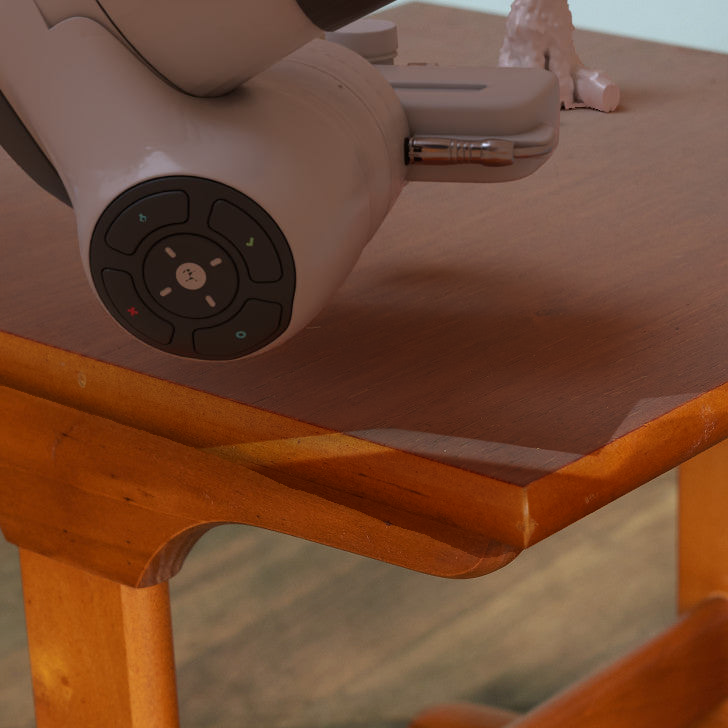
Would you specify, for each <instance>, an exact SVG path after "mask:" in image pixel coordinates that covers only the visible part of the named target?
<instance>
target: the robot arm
mask: <svg viewBox="0 0 728 728" xmlns="http://www.w3.org/2000/svg"><path fill="white" fill-rule="evenodd" d="M396 1H397V0H0V146H1V148H2V149H3V150H4V151H5V153H7V155H8V156H9V157H10V158H11V159H12V160H13V162H14V163H16V165H17V166H18V167H19V168H20V169H21V170H22V171H23V172H24V173H25V174H26V175H27V176H29V178H30V179H31V180H32V181H33V182H35V183H36V184H37V185H38V186H39V187H40V188H42V189H43V190H44V191H45V192H47V193H48V194H49V195H51V196H53V198H56V199H57V200H58V201H60V202H61V203H63V204H64V205H65V206H68V207H69V208H70V209H72V210H73V212H74V216H75V219H76V220H75V223H76V228H77V239H78V247H79V248H78V249H79V254H80V259H81V264H82V268H83V271H84V274H85V277H86V279H87V282H88V284H89V287H90V288H91V291H92V292H93V294H94V296H95V297H96V300H98V302H99V303H100V305H101V306H102V308H103V310H105V311H106V313H107V314H108V316H109V317H110V318H111V319H112V321H113V322H115V324H116V325H117V326H118V327H119V328H120V329H121V330H123V332H125V333H126V334H127V335H129V336H130V337H131V338H133V339H134V340H136V341H138V342H139V343H141V344H142V345H145V346H146V347H148V348H150V349H153V350H155V351H157V352H159V353H161V354H165V355H168V356H170V357H174V358H178V359H183V360H189V361H195V362H204V363H205V362H206V363H226V362H228V363H229V362H235V361H240V360H244V359H247V358H252V357H256V356H259V355H261V354H262V355H263V354H264V353H267V352H269V351H271V350H273V349H275V348H277V347H279V346H281V345H283V344H285V343H286V342H287V341H289V340H290V339H291V338H293V337H295V336H296V335H297V334H298V333H300V332H301V331H302V330H303V329H304V328H305V327H306V326H308V325H309V324H310V323H311V321H312V320H314V319H315V318H316V316H317V315H319V314H320V313H321V312H322V310H323V309H324V308H325V307H326V306H327V304H328V303H330V301H331V300H332V299H333V298H334V296H335V295H336V294H337V292H338V291H339V290H340V288H342V286H343V285H344V283H345V282H346V280H347V279H348V278H349V276H350V275H351V273H352V272H353V270H354V268H355V266H356V265H357V263H358V261H359V259H360V257H361V255H362V253H363V250H364V249H365V248H366V247H367V245H368V244H369V243H370V242H371V241H372V240H373V238H374V237H375V235H376V234H377V232H378V231H379V230H380V227H381V226H382V224H383V223H384V221H385V219H386V218H387V217H388V215H389V213H390V212H391V210H392V209H393V207H394V206H395V204H396V202H397V201H398V199H399V197H400V195H401V194H402V191H403V190H404V188H405V187H404V185H405V182H406V181H410V182H421V183H453V184H454V183H456V184H457V183H460V184H461V183H462V184H499V183H501V184H502V183H509V182H515V181H520V180H522V179H525V178H527V177H529V176H531V175H533V174H534V173H535V172H537V171H538V170H539V169H541V167H543V165H545V164H546V162H547V161H548V160H549V159H550V158H551V157H552V155H553V154H554V152H555V151H556V149H557V148H558V146H559V141H560V130H561V129H560V125H561V109H560V85H559V78H558V76H557V75H556V74H555V73H552V72H550V71H548V70H545V69H541V68H532V67H496V66H470V65H469V66H466V65H465V66H463V65H462V66H461V65H439V63H438V62H408V63H407V64H405V65H404V64H394V65H372V64H371V63H369V62H368V61H367V60H366V59H364V58H363V57H362V56H360V55H359V54H357V53H355V52H354V51H352V50H350V49H348V48H346V47H344V46H341V45H339V44H337V43H334V42H330V41H327V40H323V39H318V38H317V37H318V36H320V35H322V34H323V33H325V32H334V31H336V30H338V29H340V28H342V27H344V26H346V25H348V24H350V23H352V22H354V21H356V20H358V19H363V18H364V17H366V16H368V15H371V14H372V13H374V12H376V11H378V10H380V9H382V8H384V7H387V6H388V5H391V4H392V3H394V2H396Z"/></svg>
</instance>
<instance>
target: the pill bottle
mask: <svg viewBox="0 0 728 728" xmlns="http://www.w3.org/2000/svg"><path fill="white" fill-rule="evenodd" d="M397 26H398V25H397V24H396V23H395V22H394V21H391V20H386V19H380V18H379V19H378V18H360V19H358V20H356V21H354V22H352V23H350V24H348V25H346V26H344V27H342V28H340V29H338V30H336V31H334V32H325V40H327V41H330V42H334V43H337V44H339V45H341V46H344V47H346V48H348V49H350V50H352V51H354V52H355V53H357V54H359V55H360V56H362V57H363V58H364V59H366V60H367V61H368V62H369V63H371V64H372V65H395V60H394V59H395V58H397V57H398V56H399V52H398V51H397V50H398V48H399V40H398V39H399V38H398V27H397ZM410 183H411V181H406V182H405V185H404V187H403V188H405V187H406V186H407V185H409V184H410Z"/></svg>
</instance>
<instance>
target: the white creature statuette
mask: <svg viewBox="0 0 728 728" xmlns="http://www.w3.org/2000/svg"><path fill="white" fill-rule="evenodd" d="M509 6H510V11H509V12H508V13H507V20H506V21H505V25H504V27H505V36H504V37H503V44H502V47H500V49H499V51H498V55H499V56H498V57H497V65H496V66H495V67H532V68H541V69H545V70H548V71H550V72H552V73H555V74H556V75H557V76H558V78H559V85H560V110H561V109H562V107H563V106H564V109H565V110H570V109H569V108H572V109H576V108H575V107H585V106H589V107H591V108H590V109H593V108H595V109H594V110H596V109H598V110H597V111H599V110H600V112H604V113H610V112H614V111H615V110H616V108H617V107H618V105H619V103H620V98H621V90H620V88H619V86H618V84H616V83H615V82H614V81H612V80H611V78H610V77H609V75H608V73H607V72H606V71H605V70H604V69H597V68H596V67H589V66H585V64H584V63H583V62H582V60H581V59H580V57H579V54H577V52H576V46H575V45H574V39H573V34H574V32H575V30H576V27H575V26H574V24H573V14H572V11H571V9H570V4H569V3H568V0H514V1H512V2H511V3H510V5H509ZM589 107H588V108H589Z"/></svg>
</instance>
